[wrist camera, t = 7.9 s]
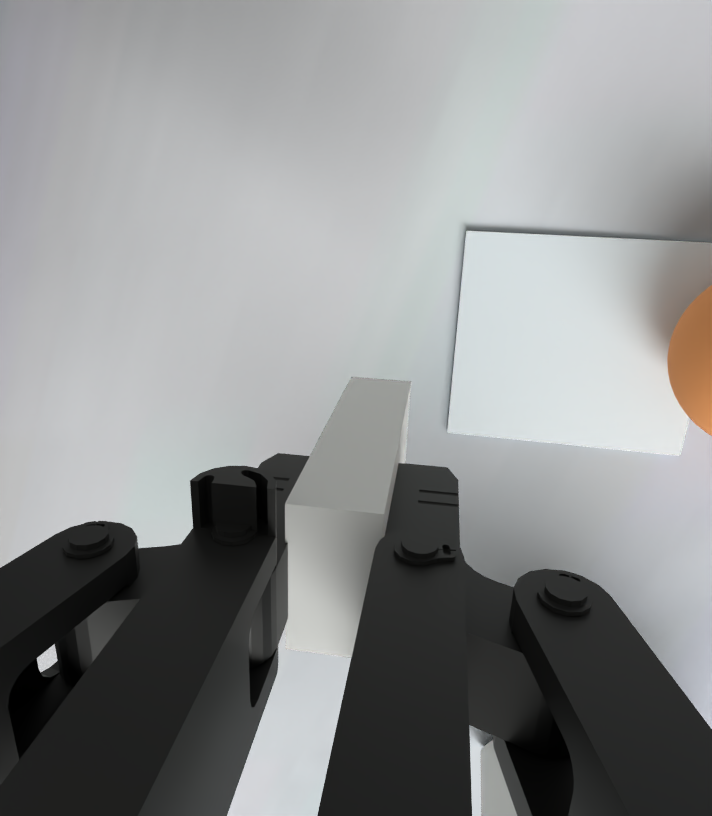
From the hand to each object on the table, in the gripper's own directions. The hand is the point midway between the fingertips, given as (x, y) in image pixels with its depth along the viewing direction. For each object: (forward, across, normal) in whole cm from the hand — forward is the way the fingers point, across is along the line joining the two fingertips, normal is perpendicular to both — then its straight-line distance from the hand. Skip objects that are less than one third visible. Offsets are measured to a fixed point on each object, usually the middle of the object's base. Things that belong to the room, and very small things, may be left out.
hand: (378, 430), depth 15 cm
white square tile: (+9, -6, 0) cm, 11 cm away
